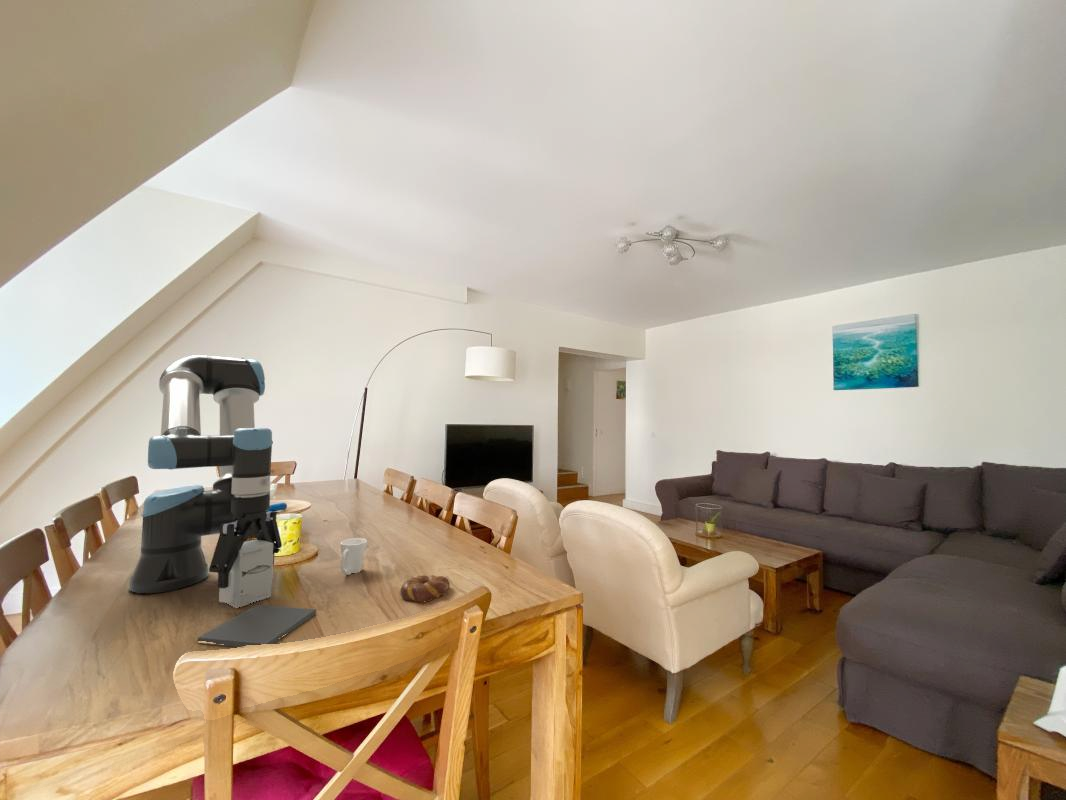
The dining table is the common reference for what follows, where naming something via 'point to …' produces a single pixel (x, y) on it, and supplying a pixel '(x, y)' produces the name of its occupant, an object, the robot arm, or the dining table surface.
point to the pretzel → (424, 588)
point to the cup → (352, 555)
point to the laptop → (258, 626)
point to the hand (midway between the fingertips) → (247, 590)
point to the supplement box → (252, 573)
